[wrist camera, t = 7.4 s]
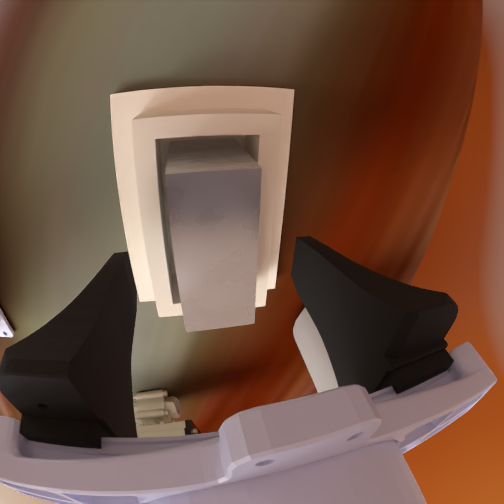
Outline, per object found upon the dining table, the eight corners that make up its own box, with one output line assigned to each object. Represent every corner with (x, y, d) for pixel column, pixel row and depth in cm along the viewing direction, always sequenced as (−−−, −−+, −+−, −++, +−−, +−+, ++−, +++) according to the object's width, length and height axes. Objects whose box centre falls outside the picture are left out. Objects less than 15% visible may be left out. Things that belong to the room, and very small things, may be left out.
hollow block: (140, 292, 21) (137, 332, 17) (114, 93, 13) (94, 97, 10) (271, 280, 23) (287, 316, 20) (288, 88, 15) (317, 92, 12)
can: (273, 331, 26) (319, 449, 17) (326, 271, 24) (403, 390, 14) (326, 345, 30) (374, 440, 20) (374, 296, 27) (440, 389, 18)
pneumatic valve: (209, 397, 31) (229, 492, 21) (118, 410, 29) (121, 499, 20) (197, 373, 28) (216, 484, 18) (96, 388, 26) (93, 489, 16)
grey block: (181, 264, 19) (186, 332, 14) (170, 141, 15) (165, 174, 10) (233, 258, 20) (254, 323, 15) (233, 137, 15) (262, 168, 11)
